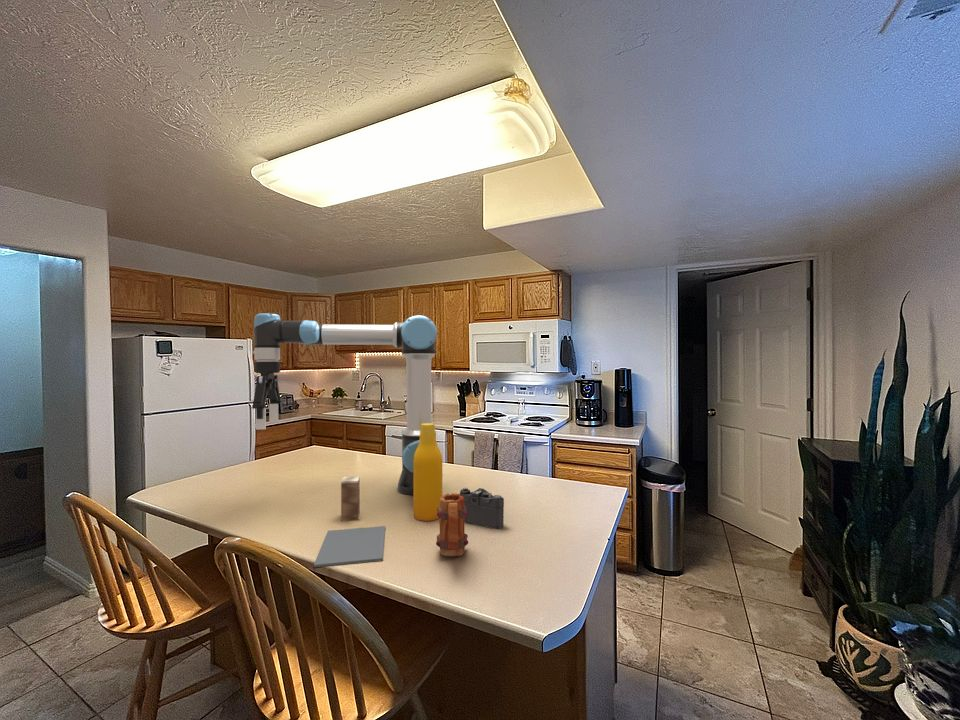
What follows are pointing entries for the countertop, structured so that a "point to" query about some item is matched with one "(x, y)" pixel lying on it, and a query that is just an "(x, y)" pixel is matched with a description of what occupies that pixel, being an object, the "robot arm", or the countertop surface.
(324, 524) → the countertop surface
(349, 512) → the block
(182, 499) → the countertop surface
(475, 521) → the camera
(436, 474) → the beer bottle
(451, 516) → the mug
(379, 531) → the mat
